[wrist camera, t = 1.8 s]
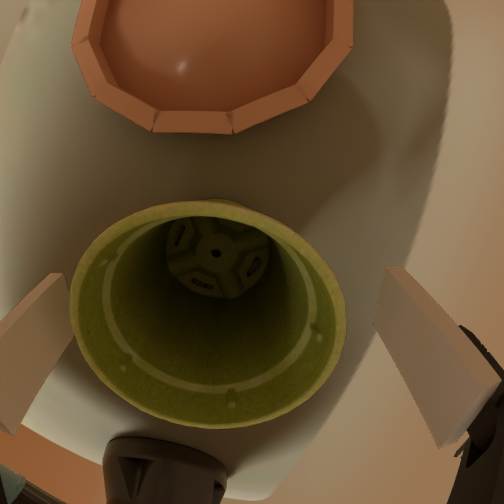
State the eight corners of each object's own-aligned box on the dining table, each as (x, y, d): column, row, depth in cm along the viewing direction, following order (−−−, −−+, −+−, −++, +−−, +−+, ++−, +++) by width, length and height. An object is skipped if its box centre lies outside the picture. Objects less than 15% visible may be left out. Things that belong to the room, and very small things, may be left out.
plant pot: (327, 208, 16) (401, 277, 8) (259, 335, 19) (269, 445, 11) (170, 143, 14) (96, 152, 6) (126, 287, 18) (67, 382, 10)
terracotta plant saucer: (243, 183, 15) (244, 191, 13) (56, 72, 12) (33, 67, 10) (378, 10, 11) (396, -4, 9) (192, -82, 8) (187, -101, 6)
